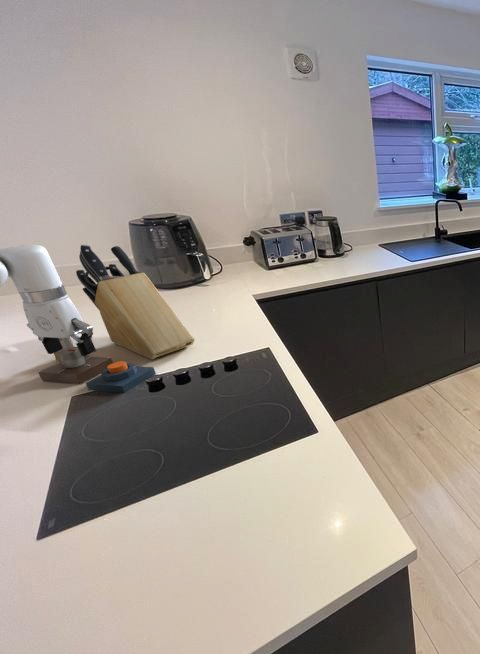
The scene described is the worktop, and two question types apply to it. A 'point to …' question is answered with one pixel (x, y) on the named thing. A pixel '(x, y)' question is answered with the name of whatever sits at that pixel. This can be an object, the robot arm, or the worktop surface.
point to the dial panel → (76, 371)
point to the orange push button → (117, 367)
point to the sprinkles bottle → (65, 344)
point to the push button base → (121, 379)
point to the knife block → (132, 306)
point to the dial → (71, 357)
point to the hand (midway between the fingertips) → (72, 352)
